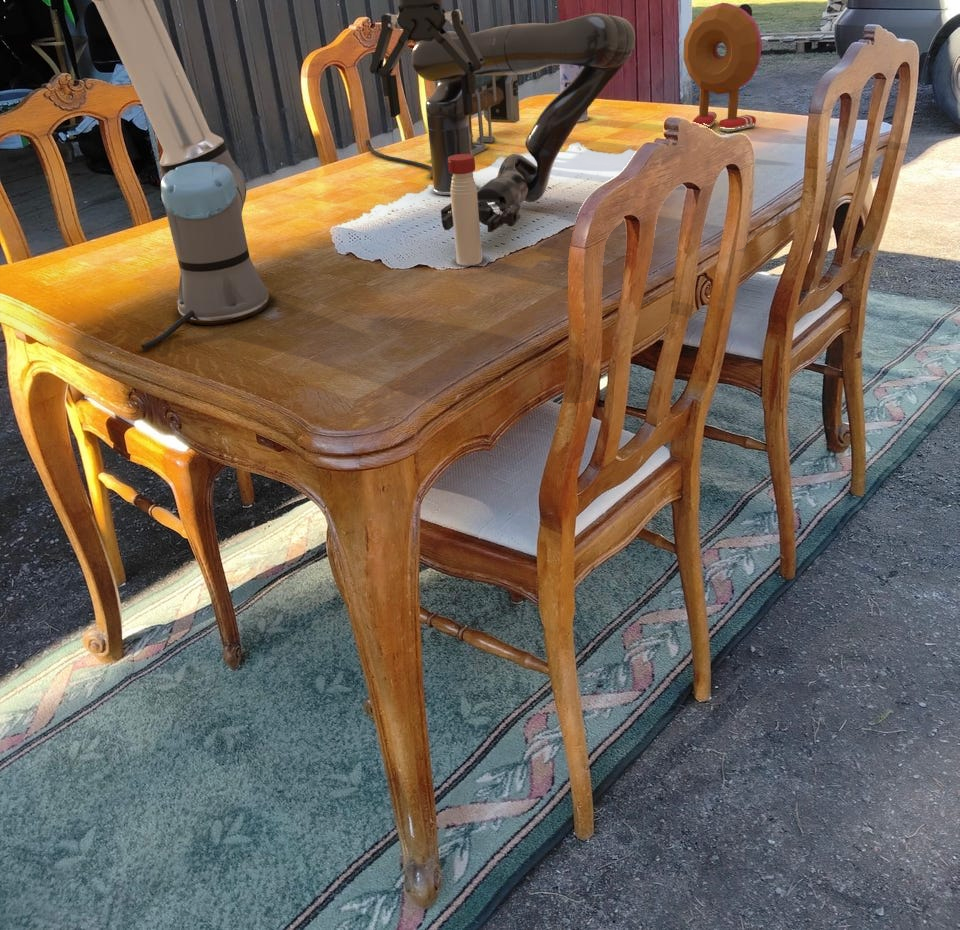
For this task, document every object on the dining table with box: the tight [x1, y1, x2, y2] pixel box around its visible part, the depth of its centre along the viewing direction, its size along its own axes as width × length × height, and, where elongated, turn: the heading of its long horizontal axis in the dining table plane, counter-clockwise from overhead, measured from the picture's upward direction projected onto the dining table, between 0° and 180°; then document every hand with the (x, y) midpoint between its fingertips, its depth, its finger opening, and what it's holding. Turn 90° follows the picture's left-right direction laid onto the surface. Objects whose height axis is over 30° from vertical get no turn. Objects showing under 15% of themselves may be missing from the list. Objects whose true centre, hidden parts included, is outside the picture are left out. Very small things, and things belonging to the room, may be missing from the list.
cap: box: [448, 154, 476, 174], centre depth 169 cm, size 5×5×2 cm
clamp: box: [469, 75, 521, 156], centre depth 252 cm, size 35×9×21 cm, turn 151°
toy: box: [682, 2, 763, 133], centre depth 248 cm, size 21×10×30 cm, turn 47°
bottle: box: [450, 172, 483, 267], centre depth 173 cm, size 5×5×18 cm
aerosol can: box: [559, 65, 589, 123], centre depth 273 cm, size 8×8×20 cm
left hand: (431, 114), depth 169 cm, fingers open, 13 cm apart
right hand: (467, 225), depth 174 cm, fingers open, 8 cm apart
